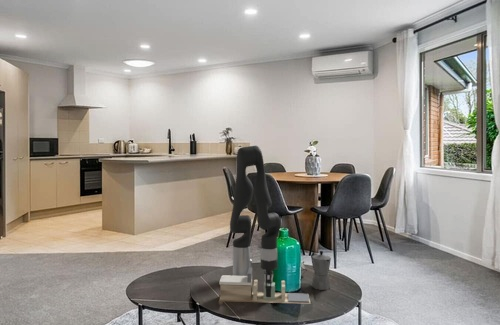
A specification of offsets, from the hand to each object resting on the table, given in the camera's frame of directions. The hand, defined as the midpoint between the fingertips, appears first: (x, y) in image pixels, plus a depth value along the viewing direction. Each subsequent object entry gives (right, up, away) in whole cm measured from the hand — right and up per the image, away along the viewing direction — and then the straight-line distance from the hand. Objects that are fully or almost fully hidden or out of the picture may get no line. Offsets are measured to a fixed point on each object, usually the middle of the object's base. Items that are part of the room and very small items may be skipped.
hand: (268, 293), depth 178 cm
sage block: (0, -2, 0) cm, 2 cm away
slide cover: (-15, +5, +1) cm, 16 cm away
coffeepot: (+26, -3, +19) cm, 33 cm away
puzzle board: (-2, -3, +1) cm, 4 cm away
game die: (+18, -3, +35) cm, 39 cm away
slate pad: (+13, -2, 0) cm, 13 cm away
